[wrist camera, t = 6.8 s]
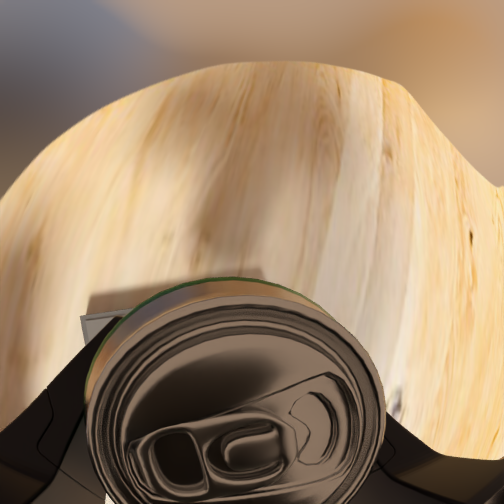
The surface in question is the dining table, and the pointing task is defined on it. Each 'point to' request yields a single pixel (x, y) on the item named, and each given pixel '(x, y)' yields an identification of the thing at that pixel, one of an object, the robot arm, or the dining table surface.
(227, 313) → the soda can
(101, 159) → the dining table surface
